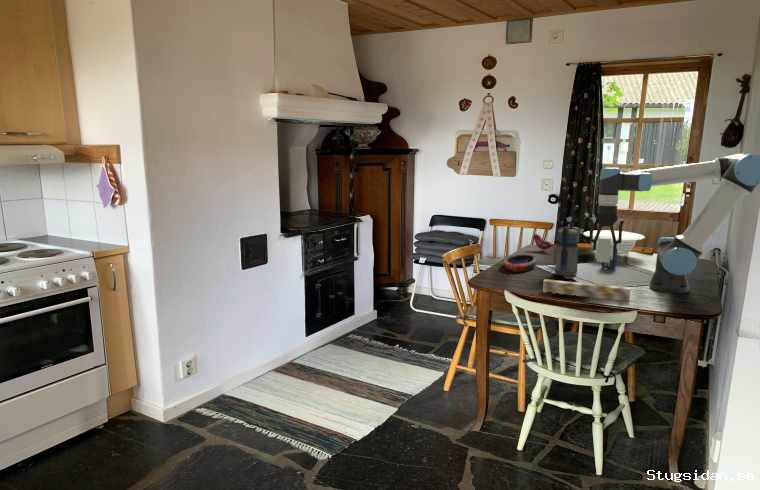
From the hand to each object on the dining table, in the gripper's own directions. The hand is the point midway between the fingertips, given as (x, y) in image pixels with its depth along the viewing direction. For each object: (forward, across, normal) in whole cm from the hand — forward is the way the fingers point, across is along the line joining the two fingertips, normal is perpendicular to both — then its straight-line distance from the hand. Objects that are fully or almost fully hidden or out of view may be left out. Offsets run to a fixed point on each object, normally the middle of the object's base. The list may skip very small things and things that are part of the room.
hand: (603, 258), depth 226 cm
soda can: (+15, +2, +46) cm, 48 cm away
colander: (+15, +3, +76) cm, 78 cm away
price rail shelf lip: (+15, -6, -10) cm, 19 cm away
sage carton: (+1, 0, 0) cm, 1 cm away
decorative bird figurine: (+15, -33, +75) cm, 83 cm away
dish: (+15, -40, +31) cm, 53 cm away
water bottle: (+15, -18, +50) cm, 55 cm away
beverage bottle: (+15, -17, +24) cm, 33 cm away
